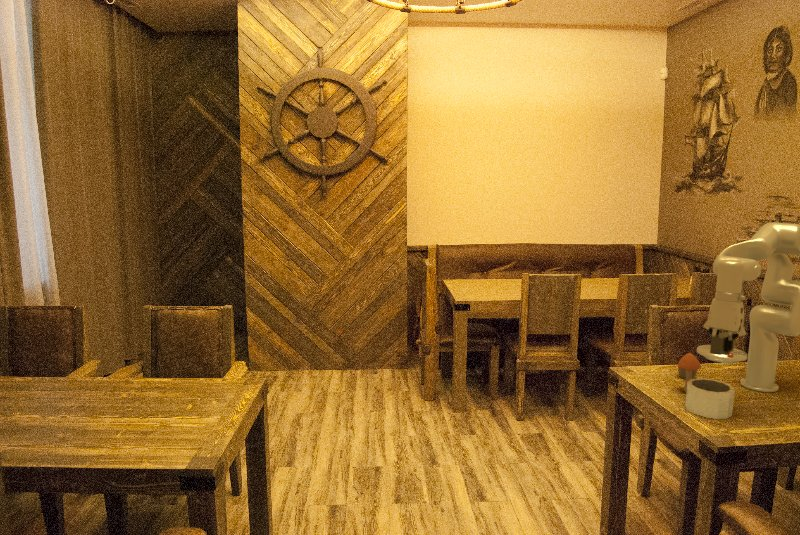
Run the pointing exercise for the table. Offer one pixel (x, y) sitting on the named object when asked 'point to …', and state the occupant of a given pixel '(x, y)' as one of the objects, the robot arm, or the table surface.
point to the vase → (683, 372)
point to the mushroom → (689, 366)
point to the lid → (721, 350)
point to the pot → (710, 398)
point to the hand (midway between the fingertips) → (722, 349)
